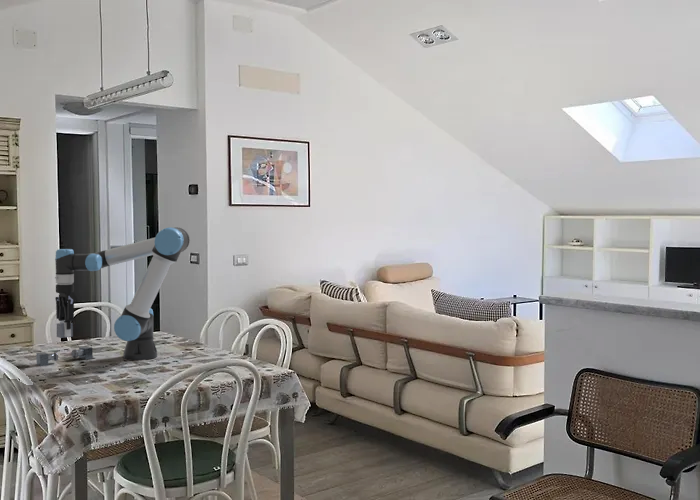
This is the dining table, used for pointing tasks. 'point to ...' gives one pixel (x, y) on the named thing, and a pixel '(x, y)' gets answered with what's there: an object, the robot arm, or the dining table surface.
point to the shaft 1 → (45, 358)
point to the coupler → (61, 330)
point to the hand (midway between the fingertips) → (65, 335)
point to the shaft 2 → (83, 353)
